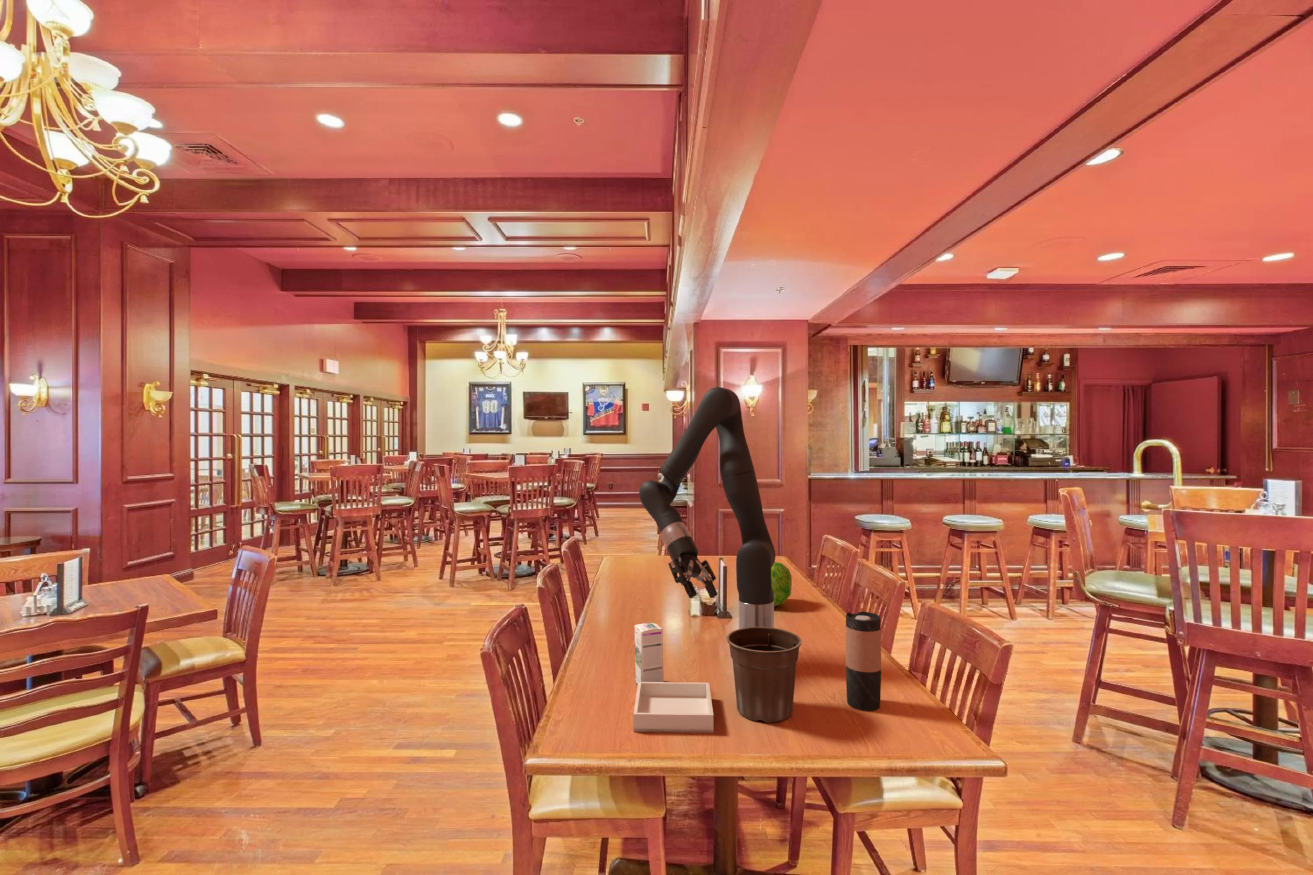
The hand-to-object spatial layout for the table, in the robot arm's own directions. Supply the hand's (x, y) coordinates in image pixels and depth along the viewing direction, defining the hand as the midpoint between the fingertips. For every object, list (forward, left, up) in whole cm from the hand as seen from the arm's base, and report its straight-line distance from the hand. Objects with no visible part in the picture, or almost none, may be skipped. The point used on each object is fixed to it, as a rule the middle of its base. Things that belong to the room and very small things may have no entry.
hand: (704, 596), depth 152 cm
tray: (+8, +22, -20) cm, 31 cm away
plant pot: (-12, +20, -20) cm, 31 cm away
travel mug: (-35, +16, -20) cm, 43 cm away
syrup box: (+14, +7, -20) cm, 25 cm away
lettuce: (-26, -65, -20) cm, 73 cm away
